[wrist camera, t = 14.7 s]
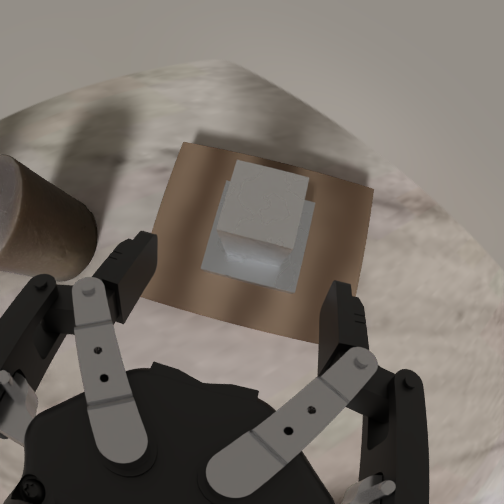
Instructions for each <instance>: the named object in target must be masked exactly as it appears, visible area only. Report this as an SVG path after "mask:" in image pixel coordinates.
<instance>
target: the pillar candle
mask: <svg viewBox="0 0 504 504" xmlns="http://www.w3.org/2000/svg"><path fill="white" fill-rule="evenodd" d="M96 240H97V227H96V223H95V219H94V216H93V214H92V213H91V212H90V211H89V210H88V209H87V208H86V206H85V205H84V204H82V203H81V202H79V201H78V200H76V199H75V198H73V197H71V196H70V195H68V194H67V193H65V192H64V191H62V190H61V189H59V188H57V187H56V186H55V185H53V184H51V183H50V182H48V181H47V180H45V179H44V178H42V177H40V176H39V175H38V174H36V173H35V172H33V171H32V170H30V169H29V168H27V167H26V166H25V165H23V164H22V163H20V162H18V161H17V160H16V159H14V158H13V157H11V156H8V155H0V271H5V272H10V273H15V274H19V275H26V276H30V277H34V276H36V275H39V274H49V275H52V276H53V277H54V278H55V280H56V281H67V280H70V279H72V278H74V277H76V276H77V275H79V274H80V273H81V272H82V271H83V270H84V269H85V268H86V267H87V265H88V264H89V262H90V261H91V259H92V257H93V254H94V252H95V248H96V244H97V241H96Z"/></svg>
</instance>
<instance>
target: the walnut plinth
mask: <svg viewBox="0 0 504 504" xmlns="http://www.w3.org/2000/svg"><path fill="white" fill-rule="evenodd" d="M237 160H240V161H245V162H249V163H253V164H258V165H262V166H266V167H270V168H274V169H278V170H282V171H286V172H290V173H294V174H298V175H301V176H305V177H309V182H308V187H307V191H306V196H305V200H307V201H311V202H315V207H314V211H313V216H312V221H311V225H310V230H309V234H308V239H307V243H306V248H305V252H304V256H303V261H302V265H301V269H300V273H299V278H298V282H297V286H296V290H295V293H293V294H289V293H285V292H281V291H277V290H273V289H269V288H265V287H261V286H257V285H253V284H249V283H245V282H242V281H238V280H234V279H230V278H226V277H223V276H219V275H215V274H211V273H208V272H204V271H203V270H202V269H201V265H202V262H203V258H204V255H205V251H206V248H207V244H208V241H209V237H210V234H211V230H212V227H213V223H214V220H215V216H216V213H217V210H218V206H219V203H220V200H221V196H222V193H223V190H224V187H225V183H226V180H227V181H231V178H232V174H233V171H234V168H235V165H236V161H237ZM373 193H374V189H372V188H369V187H365V186H362V185H359V184H356V183H352V182H349V181H346V180H342V179H339V178H336V177H332V176H329V175H325V174H322V173H318V172H314V171H311V170H307V169H303V168H299V167H296V166H292V165H288V164H284V163H280V162H276V161H272V160H268V159H263V158H259V157H255V156H251V155H246V154H242V153H237V152H232V151H228V150H223V149H218V148H213V147H208V146H203V145H198V144H192V143H187V142H183V144H182V147H181V149H180V152H179V154H178V157H177V160H176V162H175V165H174V168H173V171H172V173H171V176H170V179H169V182H168V185H167V187H166V190H165V193H164V196H163V199H162V202H161V205H160V208H159V211H158V214H157V217H156V220H155V223H154V227H153V230H152V233H153V234H156V235H157V237H158V261H157V268H156V271H155V273H154V275H153V277H152V278H151V280H150V282H149V283H148V285H147V286H146V288H145V290H144V291H143V293H142V295H141V296H140V297H143V298H146V299H149V300H152V301H155V302H159V303H162V304H165V305H169V306H172V307H175V308H179V309H182V310H185V311H189V312H192V313H196V314H199V315H203V316H206V317H210V318H214V319H217V320H221V321H225V322H228V323H232V324H236V325H240V326H244V327H248V328H252V329H256V330H260V331H264V332H268V333H272V334H276V335H280V336H285V337H289V338H293V339H298V340H302V341H307V342H311V343H316V344H319V316H320V310H321V307H322V304H323V302H324V300H325V298H326V296H327V293H328V291H329V289H330V287H331V285H332V282H333V281H334V280H337V281H341V282H345V283H349V284H351V289H352V296H354V297H355V296H356V291H357V287H358V282H359V277H360V272H361V267H362V261H363V256H364V251H365V245H366V239H367V233H368V227H369V221H370V214H371V207H372V200H373Z"/></svg>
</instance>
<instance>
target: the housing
mask: <svg viewBox="0 0 504 504" xmlns="http://www.w3.org/2000/svg"><path fill="white" fill-rule="evenodd" d="M308 182H309V177H305V176H301V175H298V174H294V173H290V172H286V171H282V170H278V169H274V168H270V167H266V166H262V165H258V164H253V163H249V162H245V161H240V160H237V161H236V165H235V168H234V171H233V174H232V178H231V181H227V180H226V183H225V187H224V190H223V193H222V196H221V200H220V203H219V206H218V210H217V213H216V216H215V220H214V223H213V227H212V230H211V234H210V237H209V241H208V244H207V248H206V251H205V255H204V258H203V262H202V265H201V269H202V270H203V271H204V272H208V273H211V274H215V275H219V276H223V277H226V278H230V279H234V280H238V281H242V282H245V283H249V284H253V285H257V286H261V287H265V288H269V289H273V290H277V291H281V292H285V293H289V294H293V293H295V290H296V286H297V282H298V278H299V273H300V269H301V265H302V261H303V256H304V252H305V248H306V243H307V239H308V234H309V230H310V225H311V221H312V216H313V211H314V207H315V202H311V201H307V200H305V196H306V191H307V187H308Z"/></svg>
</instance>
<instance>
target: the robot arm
mask: <svg viewBox="0 0 504 504" xmlns="http://www.w3.org/2000/svg"><path fill="white" fill-rule="evenodd" d="M157 261H158V237H157V235H156V234H153V233H149V232H145V231H140V232H139V233H138V234H137V236H136V237H135V238H134V239H133V240H132V239H127V240H125V241H123V242H121V243H120V244H119V245H118V246H117V247H116V248H115V249H114V250H113V252H112V253H111V254H110V255H109V257H108V258H107V259H106V260H105V261H104V262H103V264H102V265H101V266H100V267H99V269H98V270H97V271H96V272H95V274H94V275H93V276H92V277H86V278H82V279H80V280H78V281H77V282H76V283H75V284H74V285H73V286H70V285H57V284H56V280H55V278H54V277H53V276H52V275H49V274H39V275H36V276H34V277H33V278H32V279H30V281H29V282H28V283H27V284H26V285H25V287H24V288H23V289H22V291H21V292H20V293H19V294H18V296H17V297H16V298H15V300H14V301H13V302H12V303H11V305H10V306H9V307H8V309H7V310H6V311H5V313H4V314H3V316H2V317H1V318H0V438H2V439H8V438H9V439H11V440H13V441H14V442H16V443H18V444H19V445H21V446H23V447H24V451H25V462H24V470H23V475H22V478H21V480H20V482H19V483H18V485H17V486H16V487H15V489H14V490H13V491H12V492H11V494H10V495H9V496H8V497H7V499H6V500H5V501H4V503H3V504H335V503H334V500H333V498H332V497H331V495H330V493H329V492H328V490H327V489H326V487H325V486H324V484H323V483H322V481H321V480H320V478H319V477H318V475H317V474H316V472H315V471H314V469H313V467H312V466H311V464H310V463H309V461H308V460H307V458H306V456H305V455H304V453H303V452H302V450H303V449H304V448H305V447H306V446H307V445H308V444H309V443H310V442H311V441H312V440H313V439H314V438H315V437H316V436H317V435H318V434H319V433H320V432H321V431H322V430H323V429H324V428H325V427H326V426H327V425H328V424H329V423H330V422H331V421H332V420H333V419H334V418H335V417H336V416H337V415H338V414H339V413H340V412H341V411H342V410H343V409H344V408H345V407H347V408H349V409H351V410H354V411H356V412H358V413H360V414H362V415H363V426H362V445H361V459H360V471H359V482H357V483H355V484H354V485H352V486H350V487H349V488H348V490H347V491H346V493H345V496H344V499H343V501H342V503H341V504H429V448H428V431H427V418H426V407H425V397H424V389H423V383H422V380H421V379H420V377H419V376H418V375H417V374H416V373H415V372H413V371H411V370H408V369H402V370H400V371H398V372H397V373H396V374H394V373H392V372H390V371H388V370H385V369H383V368H381V367H380V366H379V365H378V362H377V359H376V357H375V356H374V355H373V353H371V352H370V351H369V344H368V335H367V327H366V319H365V311H364V306H363V304H362V303H361V301H360V299H359V298H358V297H354V296H352V289H351V284H349V283H345V282H341V281H337V280H334V281H333V282H332V285H331V287H330V289H329V291H328V293H327V296H326V298H325V300H324V302H323V304H322V307H321V310H320V316H319V351H318V376H317V377H316V378H315V379H314V380H313V381H311V382H310V383H309V384H308V385H307V386H306V387H305V388H303V389H302V390H301V391H300V392H299V393H298V394H296V395H295V396H294V397H293V398H292V399H290V400H289V401H288V402H287V403H286V404H284V405H283V406H282V407H281V408H280V409H278V410H277V411H276V410H275V409H274V408H272V407H271V406H270V405H269V404H267V403H266V402H264V401H262V400H261V399H259V398H258V393H259V391H258V390H254V389H249V388H245V387H241V386H237V385H233V384H208V383H202V382H200V381H198V380H196V379H195V378H193V377H191V376H189V375H187V374H186V373H184V372H182V371H180V370H179V369H175V368H172V367H169V366H166V365H163V364H160V363H157V362H153V364H152V366H151V368H138V369H132V370H128V371H126V372H125V368H124V365H123V361H122V358H121V354H120V350H119V347H118V343H117V339H116V335H115V331H114V327H113V325H114V323H115V322H119V323H122V324H124V323H125V321H126V320H127V318H128V316H129V314H130V313H131V311H132V309H133V308H134V306H135V304H136V303H137V301H138V299H139V298H140V296H141V295H142V293H143V291H144V290H145V288H146V286H147V285H148V283H149V282H150V280H151V278H152V277H153V275H154V273H155V271H156V268H157ZM67 334H73V335H75V340H76V347H77V354H78V360H79V366H80V371H81V376H82V382H83V386H84V391H85V392H83V393H81V394H79V395H76V396H74V397H72V398H70V399H68V400H66V401H64V402H62V403H60V404H58V405H56V406H53V407H51V408H49V409H47V410H45V411H43V412H41V413H39V414H38V415H37V416H36V410H37V407H38V398H37V395H36V393H35V391H36V390H37V388H38V386H39V384H40V382H41V380H42V378H43V376H44V374H45V372H46V370H47V369H48V367H49V365H50V363H51V361H52V359H53V358H54V356H55V354H56V352H57V351H58V349H59V347H60V345H61V344H62V342H63V340H64V338H65V337H66V335H67Z"/></svg>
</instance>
